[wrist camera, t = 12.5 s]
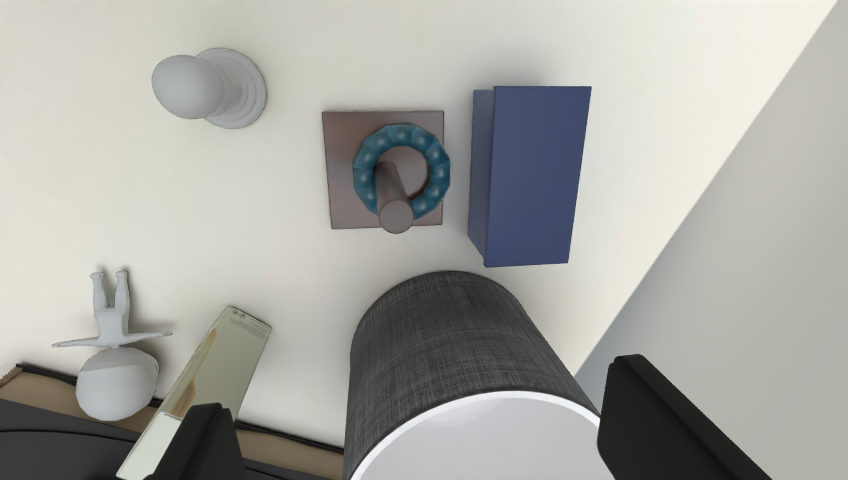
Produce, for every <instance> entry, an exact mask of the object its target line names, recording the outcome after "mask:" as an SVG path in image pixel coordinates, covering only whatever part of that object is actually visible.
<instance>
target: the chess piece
mask: <svg viewBox="0 0 848 480" xmlns="http://www.w3.org/2000/svg"><path fill="white" fill-rule="evenodd" d="M152 87H153V91H154V93H155V96H156V97H157V99H158V101H159V102H160V103H161V104H162V106H163V107H164V108H165V109H167V110H168V111H169V112H171V113H172V114H174V115H176V116H178V117H181V118H185V119H198V118H204V119H205V120H207V121H208V122H210V123H212V124H214V125H216V126H219V127H222V128H228V129H237V128H242V127H245V126H247V125H249V124H251V123H253V122H254V121H255V120H256V119H257V118H258V117H259V116H260V114H261V113H262V111H263V109H264V106H265V102H266V87H265V83H264V80H263V78H262V75H261V74H260V72H259V70H258V69H257V67H256V66H255V65H254V64H253V63H252V62H251V61H250V60H249V59H248V58H247V57H245V56H244V55H242V54H240V53H238V52H236V51H234V50H230V49H226V48H214V49H209V50H206V51H204V52H202V53H200V54H199V55H198V56H196V57H193V56H189V55H176V56H171V57H169V58H166V59H164V60H163V61H161V62H160V63H159V64H158V65H157V66H156V68H155V69H154V71H153V74H152Z"/></svg>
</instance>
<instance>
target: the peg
mask: <svg viewBox="0 0 848 480" xmlns="http://www.w3.org/2000/svg"><path fill="white" fill-rule="evenodd" d="M322 121H323V133H324V145H325V157H326V169H327V181H328V193H329V205H330V217H331V228H332V229H352V228H377V227H382V228H383V229H384V230H386V231H387V232H390V233H394V234H398V233H402V232H405V231H406V230H408V229H409V228H410V227H411V226H425V225H442V201H441V203H440V205H439V206H438V207H437V208H436V209H434V210H433V211H431V212H430V213H428V214H426V215H425V216H423V217H422V218H420V219H418V220H416V221H414V211H413V209H412V206H411V203H410V201H411V200H412V199H414V198H415V197H417V196H418V195H420V194H421V193H423V191H424V189H425V188H426V186H427V184H428V182H429V180H430V177H429V164H428V163H427V161H426V159H425V158H424V156H423V155H422V153H420V152H418V151H417V150H415V149H413V148H411V147H409V146H403V147H393V148H391V149H389V150H388V151H386V152H385V153H383V154H382V155H381V156H380V158H379V160H378V162H377V164H376V166H375V168H374V176H375V186H376V197H377V208H378V215H376V214H374V213H372V212H370V211H369V210H368V209H367V208H366V206H365V205H364V203H363V202H362V200H361V199H360V198H359V196H358V195H357V193H356V192H355V190H354V181H353V170H352V163H353V161H354V159H355V156H356V154H357V152H358V150H359V148H360V146H361V144H362V142H363V140H364V139H365V138H367V137H368V136H370V135H371V134H373V133H374V132H376V131H377V130H379V129H380V128H382V127H383V126H385V125H391V124H415V125H417V126H419V127H420V128H422V129H424V130H426V131H428V132H429V133H431V134H433V135H435V136H436V137H437V138H438V139H439V141H440V143H441V145H442V146H443V137H444V111H324V112H322Z"/></svg>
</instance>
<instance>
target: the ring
mask: <svg viewBox="0 0 848 480" xmlns="http://www.w3.org/2000/svg"><path fill="white" fill-rule="evenodd" d="M403 146H409V147H411V148H413V149H415V150H417V151H418V152H420V153H422V155H423V156H424V158H425V159H426V161H427V163H428V164H429V177H430V180H429V182H428V184H427V186H426V188H425V189H424V191H423V193H421V194H420V195H418V196H417V197H415V198H414V199H412V200H411V201H410V203H411V206H412V209H413V211H414V221H416V220H418V219H420V218H422V217H423V216H425V215H426V214H428V213H430V212H431V211H433V210H434V209H436V208H437V207H438V206H439V205H440V203H441V201H442V199H443V197H444V196H445V194H446V192H447V190H448V188H449V186H450V159H449V157H448V155H447V153H446V151H445V150H444V148H443V146H442V145H441V143H440V141H439V139H438V138H437V137H436V136H435V135H433V134H431V133H429V132H428V131H426V130H424V129H422V128H420V127H419V126H417V125H415V124H391V125H385V126H383V127H382V128H380V129H379V130H377V131H376V132H374V133H373V134H371V135H370V136H368V137H367V138H365V139H364V140H363V142H362V144H361V146H360V148H359V150H358V152H357V154H356V156H355V159H354V161H353V163H352V170H353V181H354V190H355V192H356V193H357V195H358V196H359V198H360V199H361V200H362V202H363V203H364V205H365V206H366V208H367V209H368V210H369V211H370V212H372V213H374V214H376V215H378V208H377V197H376V186H375V176H374V168H375V166H376V164H377V162H378V160H379V158H380V156H381V155H382V154H383V153H385V152H386V151H388V150H389V149H391V148H393V147H403Z"/></svg>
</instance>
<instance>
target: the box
mask: <svg viewBox="0 0 848 480" xmlns="http://www.w3.org/2000/svg"><path fill="white" fill-rule="evenodd" d="M591 88H592V87H591V86H494V87H493V90H474V99H473V123H472V148H471V173H470V197H469V222H468V236H469V238H470V239H471V241H472V242H473V244H474V245H475V246H476V248H477V249H478V251H479V252H480V254H481V255H482V256H483V258H484V262H483V264H484V266H485V267H486V268H487V267H505V266H523V265H541V264H560V263H568V259H569V251H570V244H571V237H572V229H573V222H574V214H575V207H576V199H577V192H578V185H579V177H580V170H581V162H582V155H583V147H584V140H585V133H586V125H587V118H588V110H589V103H590V96H591Z"/></svg>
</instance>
